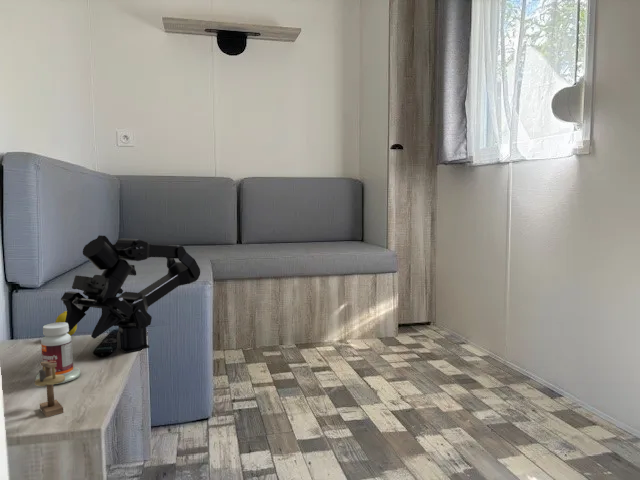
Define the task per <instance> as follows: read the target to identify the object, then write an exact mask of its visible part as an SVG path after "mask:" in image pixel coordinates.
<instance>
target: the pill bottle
mask: <svg viewBox="0 0 640 480" xmlns="http://www.w3.org/2000/svg"><path fill="white" fill-rule="evenodd" d="M67 332H69V326H68V323H66V322H57V323H56V322H51V323H48V324H45V325H43V327H42V335H44V337H42V338H41V341H40V344H41V345H40V346H41V357H42V358H41V362H45V361H47V362H52V363H56V365H57V367H55V375H64V376H66V375H68V374H70V373H72V372H73V367H74V359H73V341H72V340H73V339H72V335H71V336H70V335H69V334H67Z"/></svg>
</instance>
